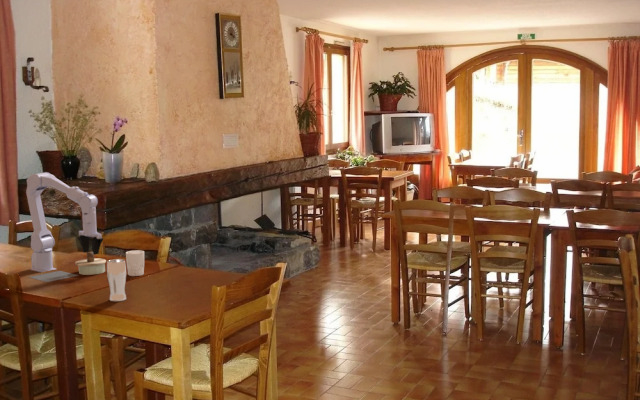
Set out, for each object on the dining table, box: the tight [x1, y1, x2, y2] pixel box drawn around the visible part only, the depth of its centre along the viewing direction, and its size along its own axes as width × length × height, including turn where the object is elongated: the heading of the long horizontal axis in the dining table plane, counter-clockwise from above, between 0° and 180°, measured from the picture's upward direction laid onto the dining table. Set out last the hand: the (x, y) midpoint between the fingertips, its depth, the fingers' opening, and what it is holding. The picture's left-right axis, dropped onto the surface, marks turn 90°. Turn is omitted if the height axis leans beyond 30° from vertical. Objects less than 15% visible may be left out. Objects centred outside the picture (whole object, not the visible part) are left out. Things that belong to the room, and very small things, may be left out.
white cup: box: [125, 249, 145, 277], centre depth 312 cm, size 8×8×10 cm
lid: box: [74, 251, 107, 267], centre depth 315 cm, size 13×13×5 cm
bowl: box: [78, 263, 106, 276], centre depth 316 cm, size 11×11×4 cm
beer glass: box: [106, 258, 127, 303], centre depth 271 cm, size 7×7×15 cm
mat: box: [28, 270, 80, 283], centre depth 309 cm, size 15×15×1 cm
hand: (91, 253), depth 315 cm, fingers open, 7 cm apart
